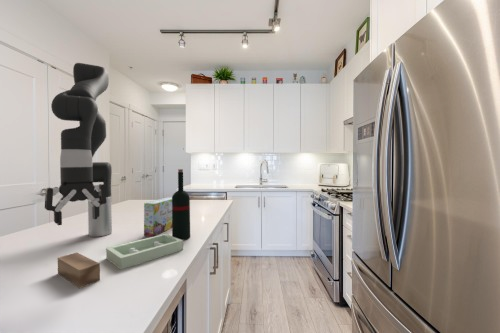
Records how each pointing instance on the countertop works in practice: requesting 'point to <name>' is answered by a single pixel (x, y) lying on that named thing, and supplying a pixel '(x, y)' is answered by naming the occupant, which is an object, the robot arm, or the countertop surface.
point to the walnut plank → (79, 269)
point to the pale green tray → (143, 250)
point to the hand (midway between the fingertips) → (77, 221)
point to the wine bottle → (181, 211)
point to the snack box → (157, 216)
